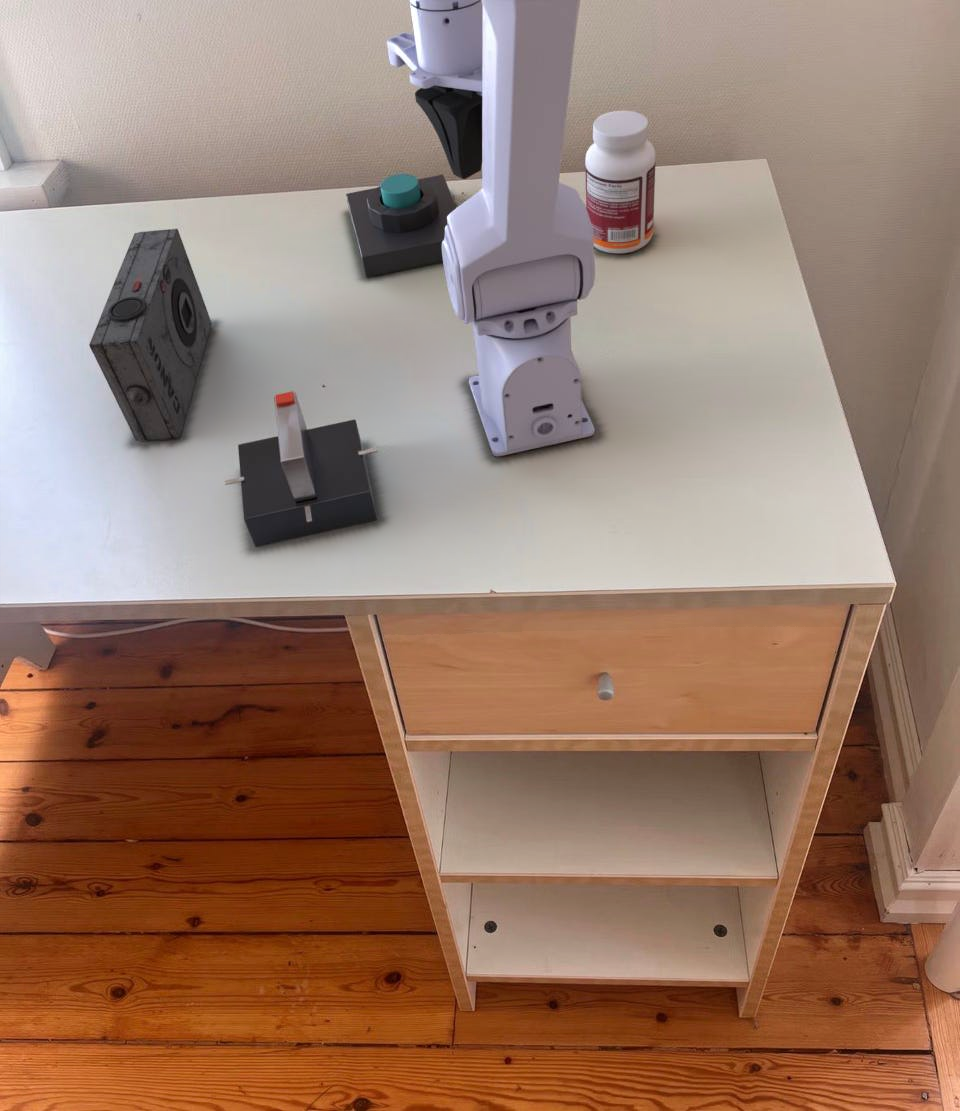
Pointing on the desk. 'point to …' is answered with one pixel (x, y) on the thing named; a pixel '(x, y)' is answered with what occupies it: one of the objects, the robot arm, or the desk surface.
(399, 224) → the control block
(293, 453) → the red-tipped silver slab
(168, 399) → the camera
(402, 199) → the button
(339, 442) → the tap deck
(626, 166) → the pill bottle
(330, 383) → the desk surface
